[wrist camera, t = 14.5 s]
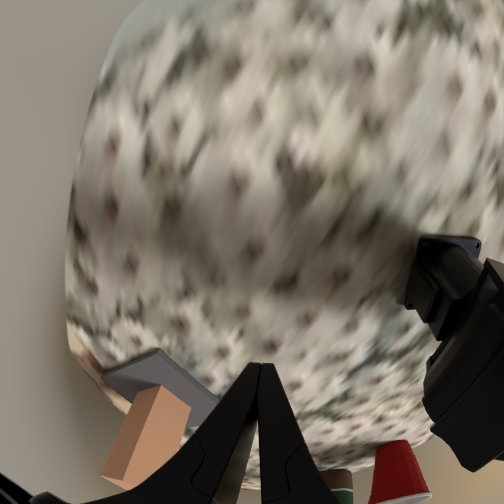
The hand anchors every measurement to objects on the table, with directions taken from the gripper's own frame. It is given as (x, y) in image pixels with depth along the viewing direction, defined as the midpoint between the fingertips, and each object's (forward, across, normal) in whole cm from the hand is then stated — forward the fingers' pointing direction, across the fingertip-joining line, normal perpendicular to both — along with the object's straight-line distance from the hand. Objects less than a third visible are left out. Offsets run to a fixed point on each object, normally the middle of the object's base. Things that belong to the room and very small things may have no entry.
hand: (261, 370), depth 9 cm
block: (+11, +13, +21) cm, 28 cm away
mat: (+12, +13, +22) cm, 28 cm away
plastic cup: (+12, -20, +37) cm, 44 cm away
